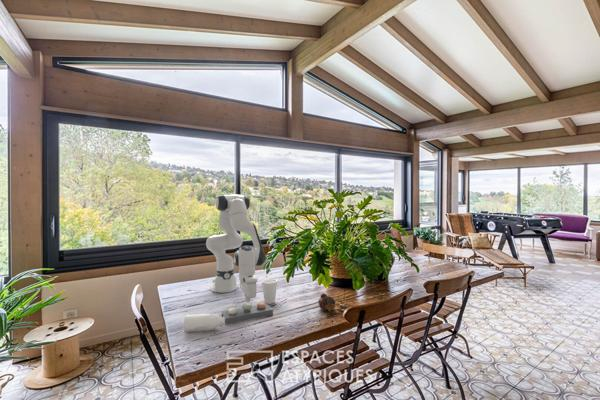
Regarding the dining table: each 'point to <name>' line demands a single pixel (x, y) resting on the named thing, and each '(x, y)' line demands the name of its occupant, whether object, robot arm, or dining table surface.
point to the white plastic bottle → (202, 322)
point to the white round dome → (232, 310)
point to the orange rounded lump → (261, 305)
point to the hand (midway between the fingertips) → (247, 301)
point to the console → (247, 314)
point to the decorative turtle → (326, 303)
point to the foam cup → (269, 290)
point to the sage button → (247, 307)
